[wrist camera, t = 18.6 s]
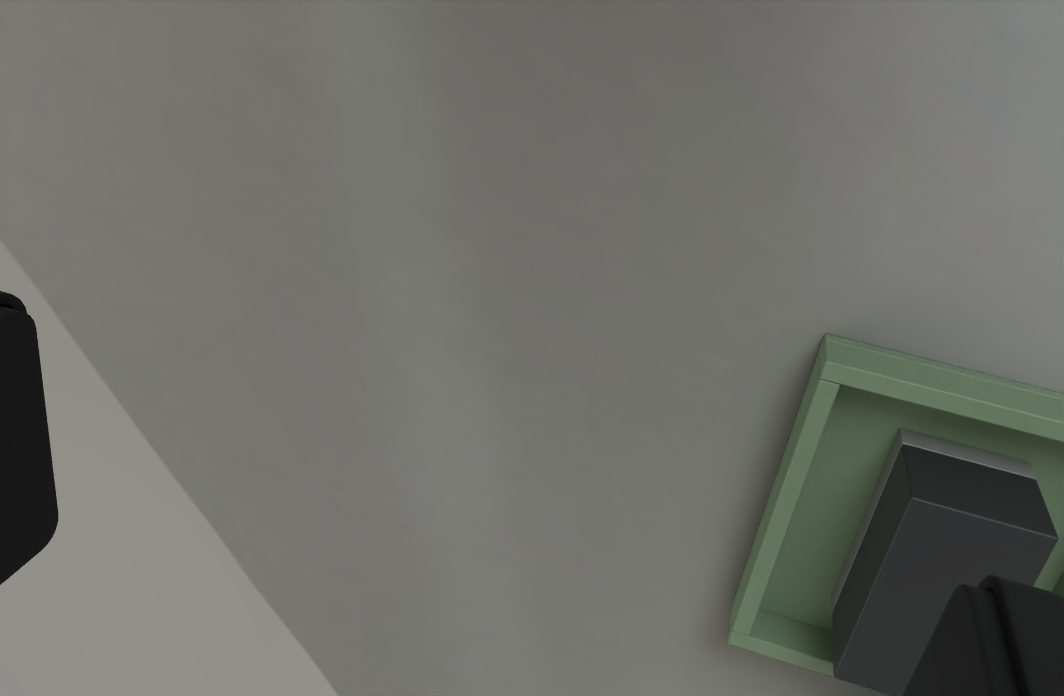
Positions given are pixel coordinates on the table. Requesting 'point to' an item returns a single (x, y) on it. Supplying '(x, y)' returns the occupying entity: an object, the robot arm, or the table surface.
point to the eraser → (931, 551)
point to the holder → (874, 480)
